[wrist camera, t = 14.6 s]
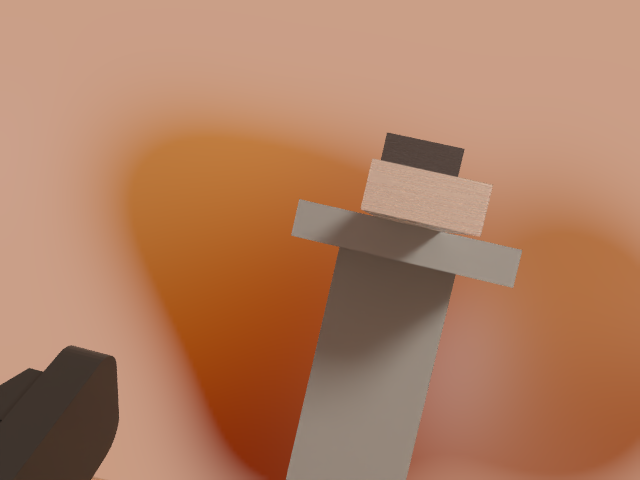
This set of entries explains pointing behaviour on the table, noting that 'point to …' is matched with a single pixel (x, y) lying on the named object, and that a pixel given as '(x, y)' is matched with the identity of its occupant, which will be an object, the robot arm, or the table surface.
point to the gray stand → (379, 338)
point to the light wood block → (425, 187)
